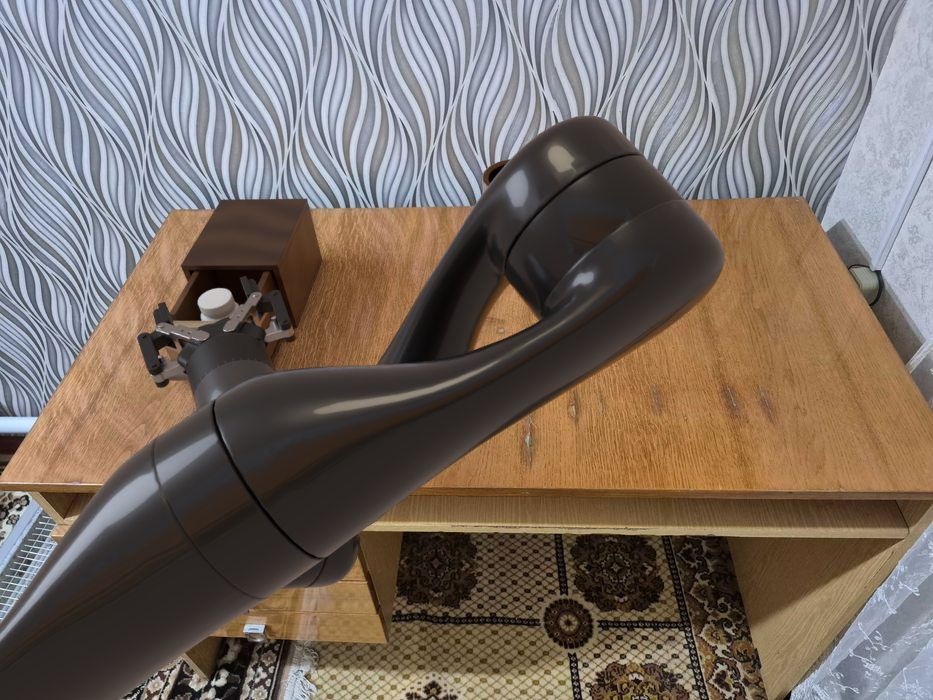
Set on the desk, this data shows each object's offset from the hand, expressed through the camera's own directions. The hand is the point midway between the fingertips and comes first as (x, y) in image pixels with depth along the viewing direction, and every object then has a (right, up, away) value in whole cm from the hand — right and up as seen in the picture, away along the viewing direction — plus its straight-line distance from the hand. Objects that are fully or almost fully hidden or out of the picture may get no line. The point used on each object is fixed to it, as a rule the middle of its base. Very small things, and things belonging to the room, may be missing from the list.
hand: (205, 295), depth 70 cm
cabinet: (-1, +3, +25) cm, 26 cm away
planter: (+36, +13, +33) cm, 51 cm away
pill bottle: (-2, -6, +14) cm, 15 cm away
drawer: (-2, -6, +15) cm, 16 cm away
